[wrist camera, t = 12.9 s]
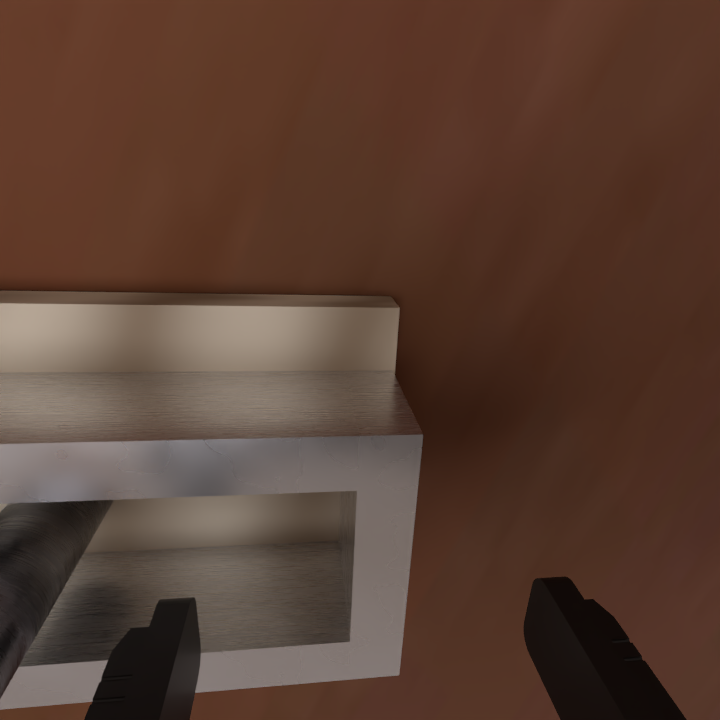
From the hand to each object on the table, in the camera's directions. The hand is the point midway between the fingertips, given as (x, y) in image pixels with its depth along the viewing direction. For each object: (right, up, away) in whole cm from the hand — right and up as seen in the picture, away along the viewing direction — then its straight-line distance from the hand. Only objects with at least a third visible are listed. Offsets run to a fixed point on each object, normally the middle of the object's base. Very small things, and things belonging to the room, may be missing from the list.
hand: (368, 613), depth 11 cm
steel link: (-6, +2, +4) cm, 8 cm away
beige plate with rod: (-7, +2, +5) cm, 9 cm away
